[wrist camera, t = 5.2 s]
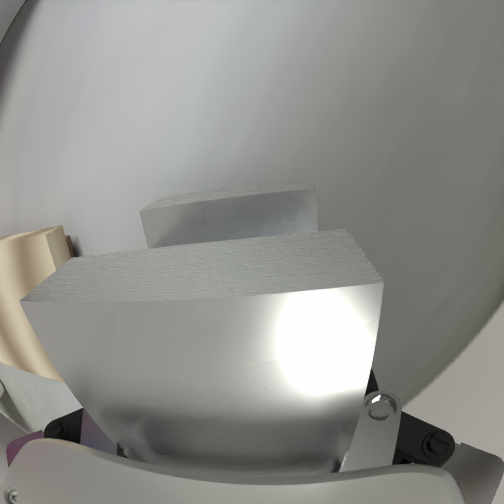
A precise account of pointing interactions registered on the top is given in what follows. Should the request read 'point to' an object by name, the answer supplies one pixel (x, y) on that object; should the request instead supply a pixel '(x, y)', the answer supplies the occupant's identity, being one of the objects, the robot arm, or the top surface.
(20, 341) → the wavy cream panel
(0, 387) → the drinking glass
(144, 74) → the top surface
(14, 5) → the gum box
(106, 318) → the block
